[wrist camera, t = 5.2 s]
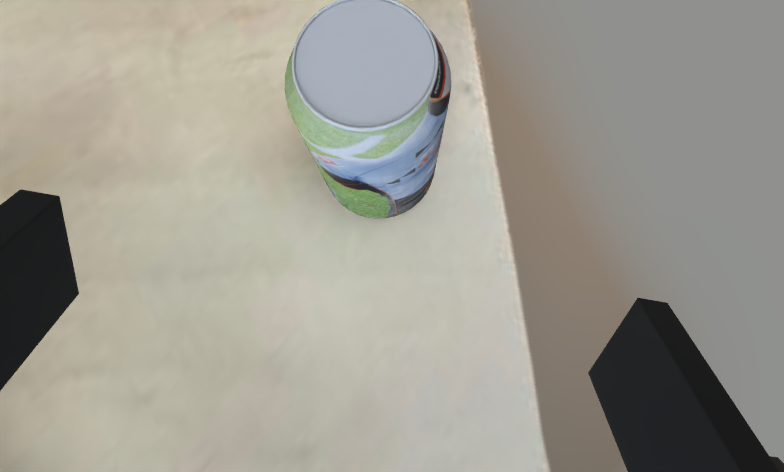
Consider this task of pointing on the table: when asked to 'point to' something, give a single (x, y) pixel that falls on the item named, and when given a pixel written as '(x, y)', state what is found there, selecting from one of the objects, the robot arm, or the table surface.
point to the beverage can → (370, 102)
